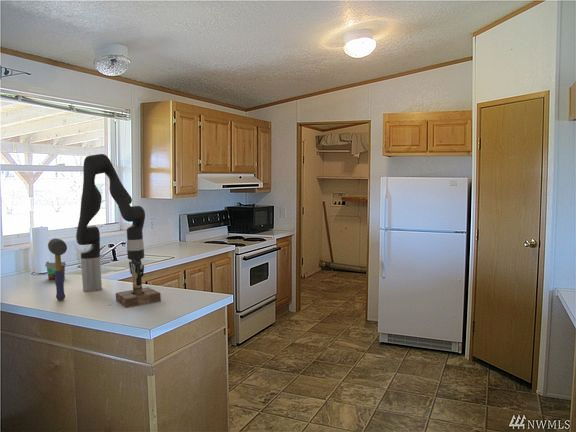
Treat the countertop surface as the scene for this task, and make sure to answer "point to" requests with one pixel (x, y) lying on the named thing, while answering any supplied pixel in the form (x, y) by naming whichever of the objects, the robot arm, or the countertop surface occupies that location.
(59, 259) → the rubber mallet
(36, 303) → the countertop surface
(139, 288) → the oak peg
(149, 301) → the walnut board
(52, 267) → the food container
